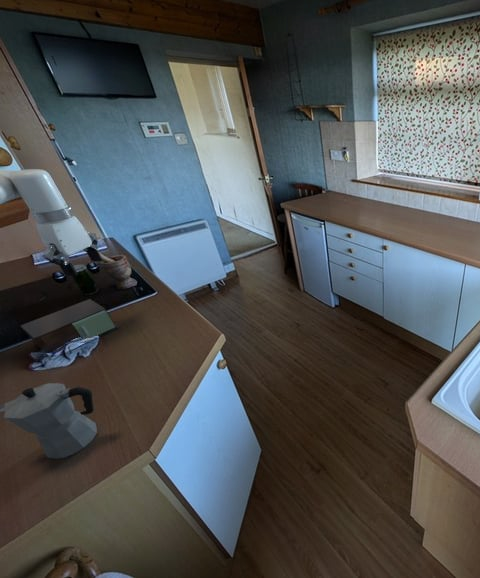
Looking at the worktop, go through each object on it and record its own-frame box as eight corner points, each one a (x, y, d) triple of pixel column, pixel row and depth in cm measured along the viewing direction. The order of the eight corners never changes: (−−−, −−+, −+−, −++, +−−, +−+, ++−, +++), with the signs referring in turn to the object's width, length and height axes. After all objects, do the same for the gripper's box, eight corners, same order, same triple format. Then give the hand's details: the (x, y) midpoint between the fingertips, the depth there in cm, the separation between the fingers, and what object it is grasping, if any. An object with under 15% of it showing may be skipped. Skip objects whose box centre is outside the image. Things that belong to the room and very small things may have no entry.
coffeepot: (25, 470, 64) (-35, 419, 55) (49, 432, 72) (-1, 382, 62) (111, 445, 69) (69, 395, 60) (125, 412, 76) (89, 363, 67)
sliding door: (85, 341, 98) (73, 325, 94) (82, 340, 98) (71, 323, 95) (116, 327, 104) (106, 311, 101) (113, 325, 105) (104, 310, 101)
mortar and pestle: (106, 295, 124) (81, 251, 113) (105, 286, 129) (81, 245, 119) (139, 286, 130) (118, 244, 120) (137, 278, 136) (117, 238, 125)
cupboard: (52, 359, 92) (36, 340, 88) (35, 344, 98) (20, 325, 94) (119, 328, 105) (108, 310, 101) (100, 316, 111) (89, 298, 107)
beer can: (100, 287, 129) (86, 263, 122) (98, 293, 125) (83, 268, 119) (84, 291, 126) (69, 266, 120) (82, 296, 122) (66, 271, 116)
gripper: (67, 207, 92) (95, 256, 101) (8, 225, 77) (47, 281, 86) (91, 206, 92) (117, 256, 101) (38, 225, 77) (74, 281, 86)
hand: (85, 267), depth 94 cm, fingers open, 9 cm apart
